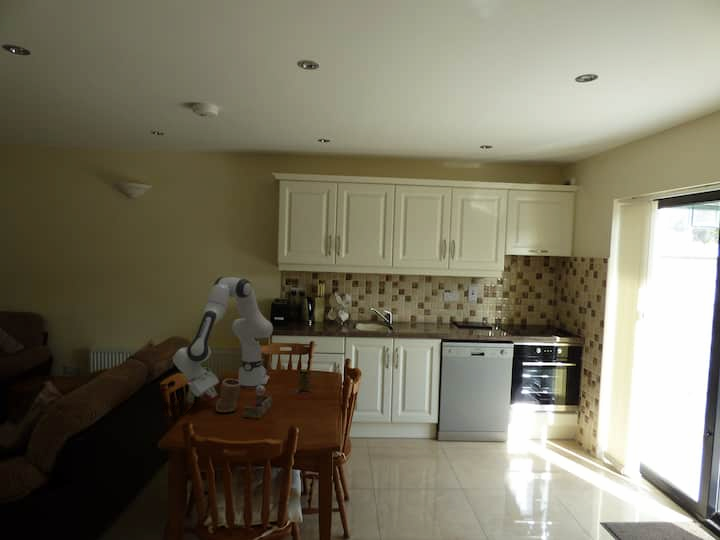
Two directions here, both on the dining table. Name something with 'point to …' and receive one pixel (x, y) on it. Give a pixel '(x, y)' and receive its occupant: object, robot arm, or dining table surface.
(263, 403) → the cradle
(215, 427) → the dining table surface
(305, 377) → the condiment
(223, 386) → the stone cup
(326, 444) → the dining table surface
